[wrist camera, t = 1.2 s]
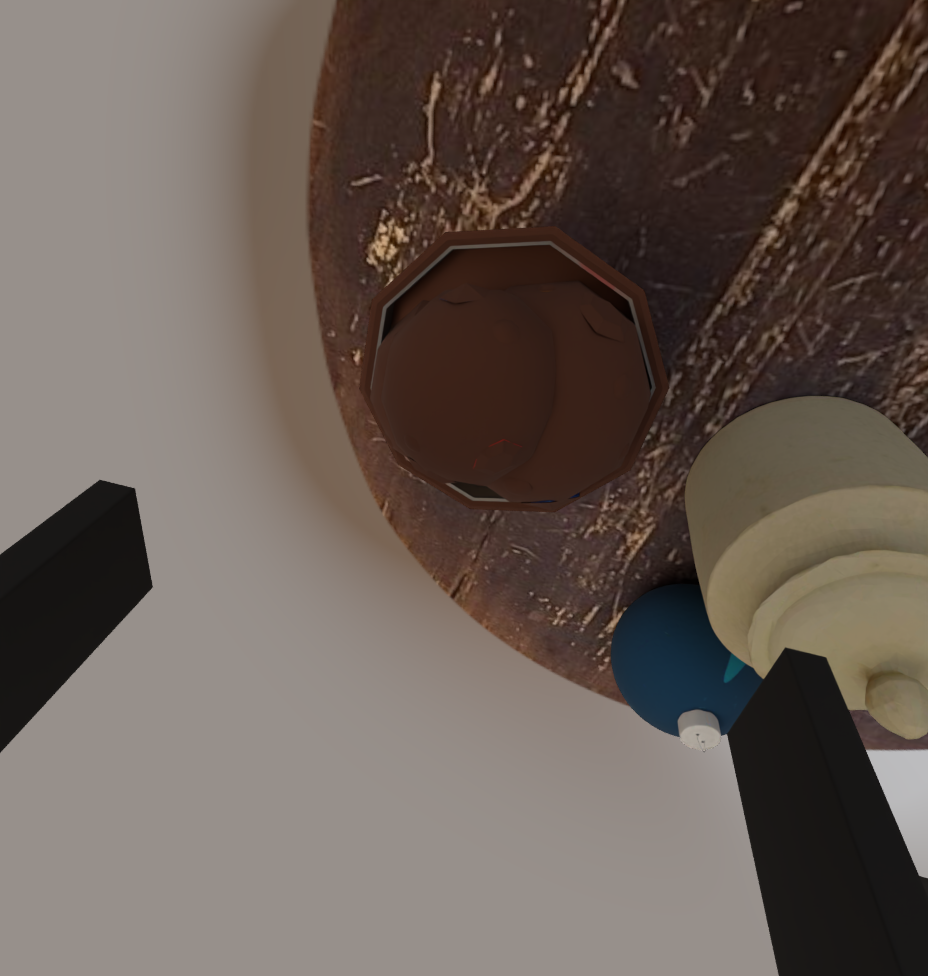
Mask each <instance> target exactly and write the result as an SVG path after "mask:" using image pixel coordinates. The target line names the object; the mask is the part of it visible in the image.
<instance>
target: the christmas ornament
mask: <svg viewBox="0 0 928 976" xmlns="http://www.w3.org/2000/svg"><path fill="white" fill-rule="evenodd" d="M611 663H612V669H613V673H614V677H615V680H616V683H617V685H618V687H619V690H620V691H621V693H622V695H623V697H624V698H625V700H626V701H627V703H628V704H629V705H630V707H631V708H632V709H633V710H634V711H635V712H636V713H637V714H638V715H639V716H640V717H641V718H642V719H644V720H645V721H646V722H648V723H649V724H651V725H652V726H654V727H656V728H657V729H659V730H661V731H663V732H666V733H668V734H671V735H674V736H677V737H680V739H681V741H682V743H684V745H686V746H687V747H689V748H692V749H697V750H706V749H711V748H714V747H716V746H717V745H718V744H719V742H720V741H721V736H722V735H725V734H727V733H728V732H729V730H730V729H731V727H732V726H733V724H734V723H735V721H736V720H737V718H738V717H739V715H740V714H741V712H742V711H743V709H744V708H745V706H746V705H747V703H748V702H749V700H750V699H751V697H752V696H753V694H754V693H755V691H756V690H757V688H758V687H759V685H760V684H761V682H762V681H763V678H762V677H760V676H759V675H758V674H757V672H756V671H755V670H754V668H753V667H751V666H749V665H747V664H746V663H744V662H743V661H741V660H740V659H739V658H737V657H736V656H735V655H734V654H733V653H731V652H730V651H729V650H728V649H727V648H726V647H725V646H724V645H723V644H722V642H721V641H720V640H719V638H718V637H717V636H716V634H715V632H714V630H713V629H712V626H711V624H710V621H709V618H708V614H707V611H706V607H705V603H704V599H703V595H702V591H701V587H700V585H694V584H672V585H667V586H662V587H659V588H656V589H654V590H651V591H649V592H647V593H646V594H644V595H642V596H641V597H639V598H638V599H637V600H635V601H634V602H633V603H632V604H631V605H630V606H629V607H628V608H627V610H626V611H625V612H624V613H623V615H622V616H621V618H620V620H619V622H618V624H617V626H616V629H615V631H614V635H613V639H612V645H611ZM703 752H704V751H703Z"/></svg>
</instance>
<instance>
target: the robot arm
mask: <svg viewBox="0 0 928 976" xmlns="http://www.w3.org/2000/svg"><path fill="white" fill-rule="evenodd" d="M152 587H153V586H152V580H151V575H150V569H149V564H148V558H147V553H146V547H145V542H144V536H143V531H142V525H141V519H140V514H139V508H138V503H137V498H136V492H135V489H134V488H131V487H127V486H123V485H118V484H115V483H110V482H107V481H102V480H99V481H98V482H96V483H95V484H94V485H92V486H91V487H90V488H88V489H87V490H86V491H84V492H83V493H82V494H80V495H79V496H78V497H77V498H75V499H74V500H72V501H71V502H70V503H68V504H67V505H66V506H64V507H63V508H62V509H61V510H59V511H58V512H56V513H55V514H54V515H52V516H51V517H50V518H48V519H47V520H46V521H44V522H43V523H42V524H40V525H39V526H38V527H36V528H35V529H34V530H32V531H31V532H30V533H28V534H27V535H26V536H24V537H23V538H22V539H20V540H19V541H18V542H16V543H15V544H14V545H12V546H11V547H10V548H8V549H7V550H6V551H4V552H3V553H2V554H1V555H0V752H1V751H2V750H3V749H4V748H5V747H6V746H7V745H8V744H9V742H10V741H11V740H12V739H13V738H14V737H15V736H16V735H17V734H18V733H19V732H20V731H21V730H22V728H23V727H24V726H25V725H26V724H27V723H28V722H29V721H30V720H31V719H32V717H34V715H35V714H36V713H37V712H38V711H39V710H40V709H41V708H42V707H43V706H44V705H45V704H46V702H47V701H48V700H49V699H50V698H51V697H52V696H53V695H54V694H55V693H56V691H57V690H58V689H59V688H60V687H61V686H62V685H63V684H64V683H65V682H66V681H67V680H68V679H69V677H70V676H71V675H72V674H73V673H74V672H75V671H76V670H77V669H78V668H79V667H80V666H81V665H82V663H83V662H84V661H85V660H86V659H87V658H88V657H89V655H91V654H92V653H93V651H94V650H95V649H96V648H97V647H98V646H99V645H100V644H101V643H102V642H103V641H104V640H105V638H106V637H107V636H108V635H109V634H110V633H111V632H112V631H113V630H114V629H115V627H116V626H117V625H118V624H119V623H120V622H121V621H122V620H123V619H124V618H125V617H126V616H127V615H128V613H129V612H130V611H131V610H132V609H133V608H134V607H135V606H136V605H137V604H138V603H139V602H140V600H141V599H142V598H143V597H144V596H145V595H146V594H147V593H148V592H149V591H150V590H151V589H152ZM727 736H728V740H729V745H730V750H731V754H732V759H733V764H734V768H735V773H736V777H737V782H738V787H739V792H740V796H741V801H742V805H743V810H744V815H745V820H746V825H747V829H748V834H749V839H750V843H751V848H752V852H753V857H754V861H755V866H756V871H757V876H758V880H759V885H760V890H761V894H762V899H763V904H764V908H765V913H766V918H767V923H768V927H769V932H770V936H771V941H772V946H773V950H774V955H775V960H776V964H777V969H778V974H779V976H928V878H924V877H921V876H919V875H918V872H917V870H916V867H915V865H914V863H913V861H912V858H911V856H910V853H909V851H908V849H907V846H906V844H905V842H904V839H903V837H902V835H901V832H900V830H899V827H898V825H897V823H896V821H895V818H894V816H893V814H892V811H891V809H890V806H889V804H888V802H887V799H886V797H885V794H884V792H883V790H882V787H881V785H880V783H879V780H878V778H877V776H876V773H875V771H874V769H873V766H872V764H871V762H870V759H869V757H868V754H867V752H866V750H865V747H864V745H863V743H862V740H861V738H860V736H859V733H858V731H857V729H856V726H855V724H854V721H853V719H852V717H851V714H850V712H849V710H848V707H847V705H846V703H845V700H844V698H843V696H842V693H841V691H840V689H839V686H838V684H837V681H836V679H835V677H834V674H833V672H832V670H831V667H830V665H829V663H828V660H827V658H826V657H823V656H819V655H815V654H811V653H807V652H803V651H799V650H795V649H791V648H786V647H785V648H784V650H783V651H782V653H781V654H780V656H779V657H778V659H777V660H776V662H775V663H774V665H773V666H772V668H771V669H770V671H769V672H768V674H767V675H766V677H765V678H764V679H763V681H762V682H761V684H760V685H759V687H758V688H757V690H756V691H755V693H754V694H753V696H752V697H751V699H750V700H749V702H748V703H747V705H746V706H745V708H744V709H743V711H742V712H741V714H740V715H739V717H738V718H737V720H736V721H735V723H734V724H733V726H732V727H731V729H730V730H729V732H728V733H727Z"/></svg>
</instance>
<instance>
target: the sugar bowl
mask: <svg viewBox="0 0 928 976" xmlns="http://www.w3.org/2000/svg"><path fill="white" fill-rule="evenodd" d="M685 509H686V514H687V520H688V526H689V532H690V538H691V544H692V550H693V556H694V561H695V566H696V571H697V575H698V579H699V583H700V587H701V591H702V595H703V599H704V603H705V607H706V611H707V614H708V618H709V621H710V624H711V626H712V629H713V630H714V632H715V634H716V636H717V637H718V638H719V640H720V641H721V642H722V644H723V645H724V646H725V647H726V648H727V649H728V650H729V651H730V652H731V653H733V654H734V655H735V656H736V657H737V658H739V659H740V660H741V661H743V662H744V663H746V664H747V665H749V666H751V667H753V668H754V670H755V671H756V672H757V674H758V675H759V676H760V677H762V678H763V679H764V678H765V677H766V675H767V674H768V672H769V671H770V669H771V668H772V666H773V665H774V663H775V662H776V660H777V659H778V657H779V656H780V654H781V653H782V651H783V650H784V648H785V647H786V648H791V649H795V650H799V651H803V652H807V653H811V654H815V655H819V656H823V657H826V658H827V660H828V663H829V665H830V667H831V670H832V672H833V674H834V677H835V679H836V681H837V684H838V686H839V689H840V691H841V693H842V696H843V698H844V700H845V703H846V705H847V707H848V710H868V711H869V713H870V714H871V715H872V717H873V718H874V719H875V720H876V721H877V722H878V723H879V724H881V725H882V726H883V727H885V728H886V729H888V730H890V731H891V732H893V733H896V734H898V735H900V736H902V737H904V738H906V739H918V738H920V737H922V736H924V735H926V734H927V732H928V457H927V456H926V455H925V454H924V453H923V452H922V451H921V450H920V449H919V448H918V447H917V446H916V445H915V444H914V443H913V442H912V441H911V440H910V439H909V438H908V437H907V436H906V435H905V434H904V433H903V432H902V431H901V430H900V429H899V428H898V427H897V426H896V425H895V424H894V423H892V422H891V421H890V420H889V419H888V418H887V417H886V416H884V415H883V414H881V413H879V412H878V411H876V410H874V409H872V408H870V407H868V406H866V405H864V404H861V403H857V402H854V401H851V400H848V399H844V398H838V397H829V396H804V397H796V398H789V399H784V400H780V401H775V402H771V403H768V404H765V405H763V406H760V407H758V408H755V409H753V410H751V411H749V412H747V413H745V414H743V415H741V416H739V417H737V418H736V419H735V420H733V421H732V422H730V423H729V424H728V425H726V426H725V427H724V428H722V429H721V430H720V431H718V432H717V433H716V434H715V435H714V436H713V437H712V438H711V439H710V440H709V441H708V443H707V444H706V445H705V446H704V447H703V448H702V450H701V451H700V453H699V455H698V456H697V458H696V460H695V462H694V463H693V465H692V467H691V469H690V472H689V475H688V477H687V481H686V488H685Z"/></svg>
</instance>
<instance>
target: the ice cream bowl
mask: <svg viewBox="0 0 928 976" xmlns="http://www.w3.org/2000/svg"><path fill="white" fill-rule="evenodd" d="M359 389H360V391H361V393H362V395H363V397H364V399H365V401H366V403H367V405H368V407H369V409H370V411H371V413H372V415H373V417H374V418H375V420H376V422H377V424H378V426H379V428H380V430H381V432H382V434H383V436H384V438H385V440H386V443H387V444H388V446H389V448H390V450H391V452H392V454H393V455H394V457H395V459H396V461H397V463H398V465H399V466H401V467H403V468H404V469H406V470H408V471H409V472H411V473H412V474H414V475H416V476H417V477H419V478H421V479H422V480H424V481H425V482H427V483H429V484H430V485H432V486H434V487H435V488H437V489H438V490H440V491H442V492H443V493H445V494H447V495H448V496H450V497H451V498H453V499H455V500H456V501H458V502H460V503H461V504H463V505H464V506H466V507H468V508H469V509H483V510H510V511H536V512H556V511H558V510H560V509H562V508H563V507H565V506H567V505H569V504H570V503H572V502H574V501H576V500H578V499H579V498H581V497H583V496H585V495H587V494H588V493H590V492H592V491H594V490H596V489H597V488H599V487H601V486H603V485H605V484H606V483H608V482H610V481H612V480H614V479H615V478H617V477H619V476H621V475H623V474H624V473H626V472H628V471H630V470H631V468H632V466H633V464H634V462H635V460H636V457H637V455H638V453H639V451H640V449H641V447H642V445H643V443H644V440H645V438H646V436H647V434H648V432H649V430H650V428H651V426H652V423H653V421H654V419H655V417H656V415H657V413H658V411H659V409H660V406H661V404H662V402H663V400H664V398H665V396H666V394H667V392H668V389H669V385H668V381H667V377H666V373H665V369H664V365H663V361H662V357H661V353H660V349H659V346H658V342H657V338H656V334H655V330H654V326H653V322H652V318H651V314H650V310H649V307H648V303H647V299H646V295H645V291H644V290H643V289H642V288H640V287H639V286H637V285H636V284H635V283H633V282H632V281H630V280H629V279H628V278H626V277H625V276H623V275H622V274H621V273H619V272H618V271H617V270H615V269H614V268H612V267H611V266H610V265H608V264H607V263H605V262H604V261H603V260H601V259H600V258H598V257H597V256H596V255H594V254H593V253H592V252H590V251H589V250H587V249H586V248H585V247H583V246H582V245H580V244H579V243H578V242H576V241H575V240H573V239H572V238H571V237H569V236H568V235H566V234H565V233H564V232H562V231H561V230H560V229H558V228H557V227H555V226H550V227H532V228H514V229H496V230H478V231H460V232H445V233H444V234H443V235H442V236H441V237H440V238H439V239H437V240H436V241H435V242H434V243H433V244H432V245H431V246H430V247H429V248H428V249H427V250H426V251H424V252H423V253H422V254H421V255H420V256H419V257H418V258H417V259H416V260H415V261H414V262H413V263H411V264H410V265H409V266H408V267H407V268H406V269H405V270H404V271H403V272H402V273H401V274H399V275H398V276H397V277H396V278H395V279H394V280H393V281H392V282H391V283H390V284H389V285H388V286H386V287H385V288H384V289H383V290H382V291H381V292H380V293H379V294H378V295H377V296H376V297H374V298H373V299H372V304H371V311H370V318H369V324H368V331H367V338H366V345H365V352H364V359H363V366H362V373H361V380H360V387H359Z"/></svg>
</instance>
